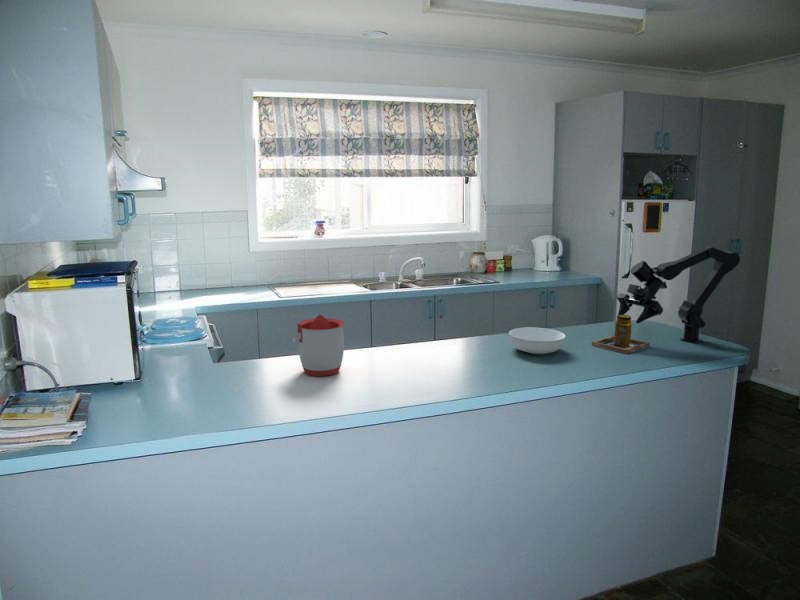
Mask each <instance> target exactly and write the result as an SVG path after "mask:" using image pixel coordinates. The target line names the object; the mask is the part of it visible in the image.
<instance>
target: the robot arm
mask: <svg viewBox="0 0 800 600" xmlns="http://www.w3.org/2000/svg"><path fill="white" fill-rule="evenodd" d="M709 259H712V260H714V263H713V268H712V269H711V272H710V273H709V274H708V276H707V277H706V279H705V280H704V282H703V283H702V284H701V285H700V287H699V289H698V290H697V292H696V293H695V294H694V296H693V297H692V298H691V299H690V300H688V301H687V300H683V302H682V303H681V305H680V306H679V307H678V309H679V310H678V311H677V314H678V318H679V319H680V320H681V323H682V324H684V330H683V337H681V338H679V341H680V340H681V341H684V342H688V343H689V342H690V343H695V344H696V343H699V342H702V341H703V338H700V334H701V329H703V328H705V326H706V322H705V320H703V318H702V315H703V311H704V306H705V304H706V302H707V301H708V300H709V298H710V297H711V296H712V294H713V292H714V291H715V290H716V289H717V287H718V285H720V283H721V281H722V280H723V279H724V277H725V276H726V275H727V274H729V273H731V272H733V270H735V268H737V267H738V265H740V262H741V258H740V255H739V254H738V253H736V252H733V251H728V250H720V249H717V248H715V247H714V246H709V245H707V246H703V248H701V249H699V250H697V251H694V252H692V253H690V254H688V255H685V256H684V257H681V258H680V259H676V260H674V261H667V262H666V261H665V262H664V263H660V264H658V265H657V266H655V267H650V265H649V264H648V263H647V261H645V260H641V261H640V262H638V263H636V264H634V265H633V266H632V267H631V269H629V271H630V272H629V273H631V275H632V276H633V277H635V279H636V280H637V281H638V282H640V283H644V284H642V285H637V284H632V283H629V285H628V287H627V290H626V292H627V293H630V294H631V296H630V295H629V294H627V293H623V292H621V293H618V295H617V296H616V299H617V301H618V303H619V310H618V313H617V316H618V315H626V314H627V313H628V311H630V310H631V307H633V306H638V307H642V308H643V310H642V312H641V313H640V315H639V316H638V318H637V320H636V321H635V322H636V324H640V323H642V322H643V321H646V320H648V319H651V318H653V317H657V315H658V316H661V315H662V313H663V312H664V307H663V306H662V305H661V303H660V302H659V300H656V298H657V297H656V294H657V293H658V292H659V291H660V289H661V290H664V289H667V288H668V285H667V282H666V281H671V280H673V279H675V278H676V277H678V276H679V275H681V274H682V272H683V271H684V270H687V269H689V268H691V267H693V266H695V265H699V264H700V263H702V262H704V261H707V260H709ZM662 279H663V280H666V281H663V280H662ZM631 297H632V298H631Z"/></svg>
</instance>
